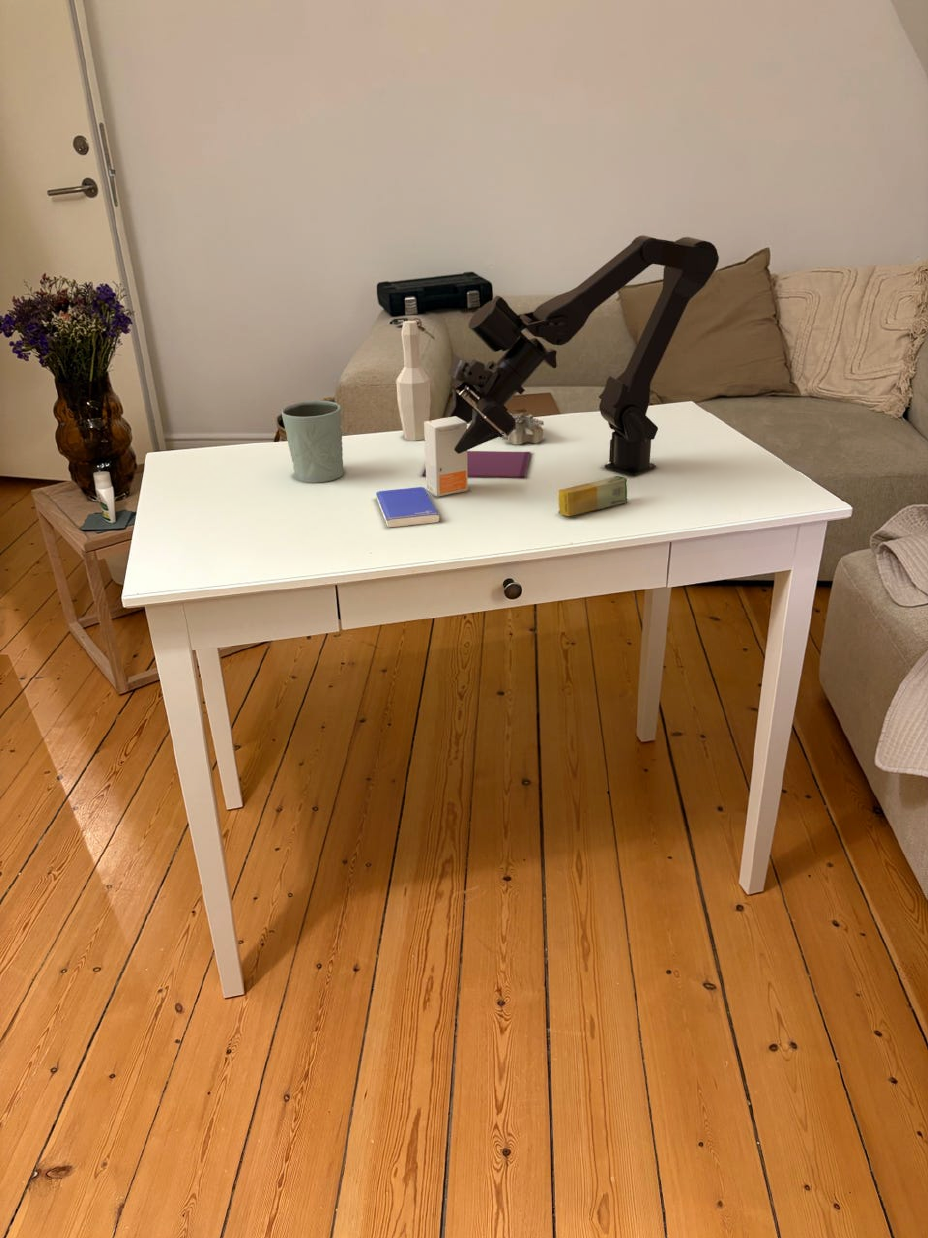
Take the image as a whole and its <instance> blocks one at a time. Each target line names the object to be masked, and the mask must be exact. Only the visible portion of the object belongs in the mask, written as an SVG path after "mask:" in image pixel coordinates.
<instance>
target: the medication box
mask: <svg viewBox="0 0 928 1238" xmlns="http://www.w3.org/2000/svg"><path fill="white" fill-rule="evenodd" d="M627 482H628V478H627V477H623V476H619V475H616V476H611V477H606V478H603V479H599V480H595V481H591V482H587V483H583V484H578V485H574V486H570V487H569V486H568V487H566V488H561V489H558V491H557V492H558V493H557V494H558V509H559V510H558V514H559V515H563V516H565V517H573V516H577V515H581V514H584V513H588V512H593V511H598V510H600V509H604V508H609V507H612V506H617V505H621V504H624V503H625V504H627V503H628V485H627Z"/></svg>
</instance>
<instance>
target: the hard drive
mask: <svg viewBox="0 0 928 1238" xmlns="http://www.w3.org/2000/svg"><path fill="white" fill-rule="evenodd" d="M427 491H428V490H427V488H425V487H422V486H417V487H407V488H398V489H388V490H387V489H386V490H381V491H380V490H379V491H377V492H376V493H375V495H376V497H375V498H376V500H377V504H378V506H379V509H380V511H381V514H382V516H383V518H384V521H385V524H386V525H387V527H388V528H397V527H405V526H407V527H408V526H415V525H424V524H434V523H438V522H439V521H440V513H439V512H438V510H437V508H436V506H435V504H434V502H433V500H432V499H431V497H430V495H429V493H428V492H427Z"/></svg>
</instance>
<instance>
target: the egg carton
mask: <svg viewBox="0 0 928 1238" xmlns="http://www.w3.org/2000/svg"><path fill="white" fill-rule="evenodd" d="M508 413H509V414H510V415H511V416H512V417H513V418H514V419H516V428H515V429H514V430H513V431H512V432H511V433H510V434H509V436H507V435H506V434H505V433H503V432H502V431H501V432H500V433H501V434H503V438H504V439H507V443H508V444H510V445H511V444H512V445H516V446H518V445H522V444H524V443H532V444H539V443H540V442H542V441H543V440H544V428H543V427H542V426H544V425H545V422H544V420H543V419H539V418H536V417H534V415H532V414H531V413H529V414H528V415H524V413H523V412H520V413H519V414H518V413H510V412H508Z"/></svg>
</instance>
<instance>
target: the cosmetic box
mask: <svg viewBox="0 0 928 1238" xmlns="http://www.w3.org/2000/svg"><path fill="white" fill-rule="evenodd" d="M447 417H448V416H447ZM447 417H440V418H436V419H432V420H429V421H426V422H424V435H425V439H424V459H425V460H424V461H425V468H426V476H425V481H426V482H425V487H426V488H425V489H426V491H428V492H429V493H430V494H432V495H433V496H435V498H439V497H443V496H448V495H452V494H459V493H463V492H468V490H469V479H468V478H469V477H468V468H467V451H468V450H467V451H464V452H462V453H460V454H458V453H457V452H456V451H455V450H454V448H455V447H456V445H457V443H458V442H459V440H460V439H461V437H462V436H463V434H464V433H465V431H466V430H467V429H468V423H467V422H465V421H463V420H462V419H460V418H458V417H456V416H454V417H448V418H447Z"/></svg>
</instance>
